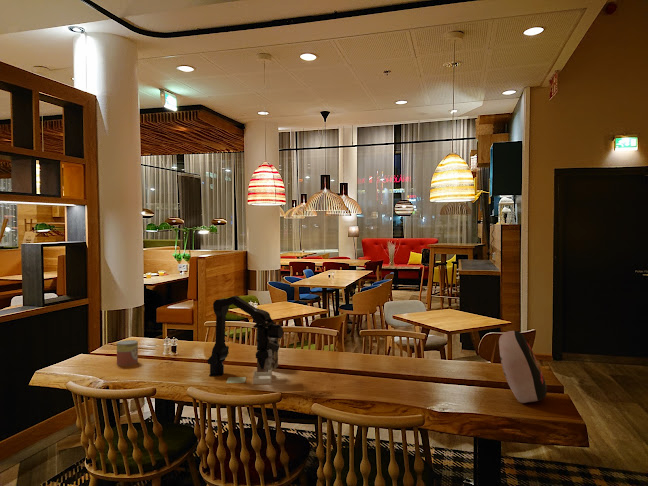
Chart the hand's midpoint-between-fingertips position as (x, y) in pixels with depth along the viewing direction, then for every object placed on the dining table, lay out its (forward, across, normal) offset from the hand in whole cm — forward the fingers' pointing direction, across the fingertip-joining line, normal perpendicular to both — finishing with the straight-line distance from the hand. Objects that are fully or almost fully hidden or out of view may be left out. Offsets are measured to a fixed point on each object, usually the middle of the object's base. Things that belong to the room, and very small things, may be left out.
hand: (262, 367), depth 235 cm
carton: (+6, 0, 0) cm, 6 cm away
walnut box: (+2, 0, 0) cm, 2 cm away
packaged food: (+6, -39, -116) cm, 122 cm away
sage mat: (+6, 0, +13) cm, 14 cm away
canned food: (+7, +40, +79) cm, 89 cm away
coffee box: (+6, +22, -4) cm, 24 cm away
